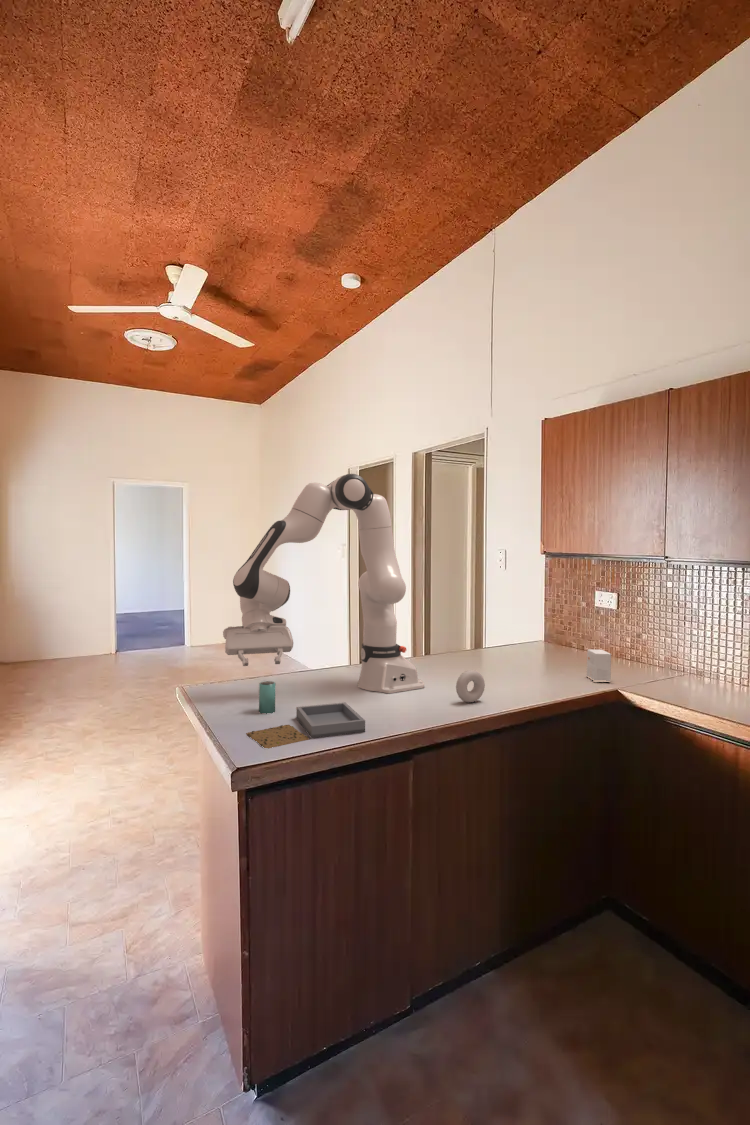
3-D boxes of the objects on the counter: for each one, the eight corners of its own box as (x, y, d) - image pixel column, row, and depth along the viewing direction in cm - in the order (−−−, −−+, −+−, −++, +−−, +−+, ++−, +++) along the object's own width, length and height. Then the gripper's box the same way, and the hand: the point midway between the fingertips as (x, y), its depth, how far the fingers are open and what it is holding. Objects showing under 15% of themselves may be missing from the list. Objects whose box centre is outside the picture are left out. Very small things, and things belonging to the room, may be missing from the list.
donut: (479, 698, 169) (480, 667, 169) (486, 702, 166) (487, 669, 166) (453, 702, 165) (454, 670, 164) (459, 705, 162) (460, 672, 161)
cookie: (264, 751, 125) (264, 747, 125) (244, 735, 135) (244, 731, 135) (310, 741, 132) (310, 737, 132) (288, 726, 142) (288, 722, 142)
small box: (610, 683, 192) (611, 654, 191) (594, 683, 192) (595, 653, 191) (601, 677, 200) (602, 649, 199) (586, 677, 200) (587, 648, 199)
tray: (345, 712, 153) (345, 702, 153) (365, 732, 138) (365, 720, 138) (296, 717, 148) (296, 706, 148) (311, 738, 133) (311, 726, 133)
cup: (273, 708, 156) (273, 680, 155) (276, 713, 151) (277, 684, 151) (257, 709, 154) (258, 681, 154) (260, 714, 150) (260, 685, 149)
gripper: (223, 620, 163) (226, 660, 154) (290, 618, 170) (297, 656, 162) (221, 633, 167) (224, 672, 158) (287, 630, 175) (293, 667, 166)
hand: (261, 664), depth 160 cm, fingers open, 8 cm apart
